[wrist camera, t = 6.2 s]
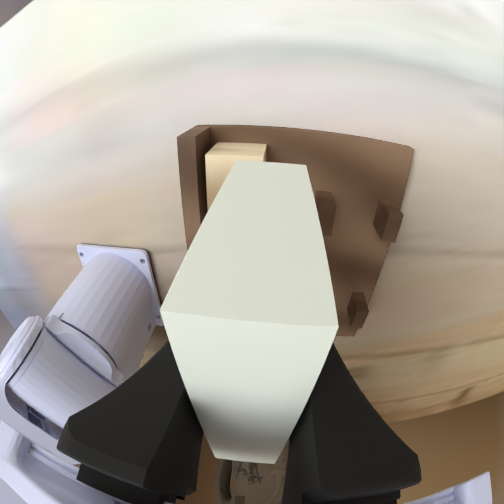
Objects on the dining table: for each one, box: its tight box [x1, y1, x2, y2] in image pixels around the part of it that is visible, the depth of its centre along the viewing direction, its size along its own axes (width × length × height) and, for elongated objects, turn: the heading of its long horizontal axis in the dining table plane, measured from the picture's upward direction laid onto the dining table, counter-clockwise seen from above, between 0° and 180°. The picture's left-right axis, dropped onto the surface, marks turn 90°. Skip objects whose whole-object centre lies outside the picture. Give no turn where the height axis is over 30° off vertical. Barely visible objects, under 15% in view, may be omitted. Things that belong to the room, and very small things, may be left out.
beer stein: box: [214, 437, 290, 504], centre depth 25 cm, size 15×11×20 cm
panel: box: [160, 160, 339, 464], centre depth 10 cm, size 10×3×8 cm, turn 178°
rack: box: [177, 125, 414, 336], centre depth 19 cm, size 18×14×4 cm
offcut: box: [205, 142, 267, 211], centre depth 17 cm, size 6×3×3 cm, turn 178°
